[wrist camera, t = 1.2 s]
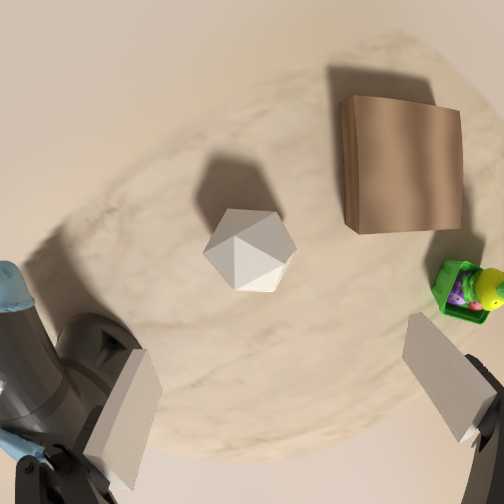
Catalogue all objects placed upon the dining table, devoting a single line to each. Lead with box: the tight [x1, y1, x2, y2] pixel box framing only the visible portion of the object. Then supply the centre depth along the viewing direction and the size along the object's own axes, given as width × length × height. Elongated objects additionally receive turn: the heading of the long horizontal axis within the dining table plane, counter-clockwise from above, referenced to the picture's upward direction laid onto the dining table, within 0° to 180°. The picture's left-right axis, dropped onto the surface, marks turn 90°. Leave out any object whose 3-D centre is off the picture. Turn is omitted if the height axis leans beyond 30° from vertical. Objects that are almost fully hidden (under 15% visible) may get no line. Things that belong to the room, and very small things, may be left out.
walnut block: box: [339, 95, 463, 235], centre depth 28 cm, size 14×14×5 cm
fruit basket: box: [432, 259, 504, 325], centre depth 29 cm, size 11×9×11 cm
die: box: [203, 209, 297, 292], centre depth 29 cm, size 8×9×10 cm
